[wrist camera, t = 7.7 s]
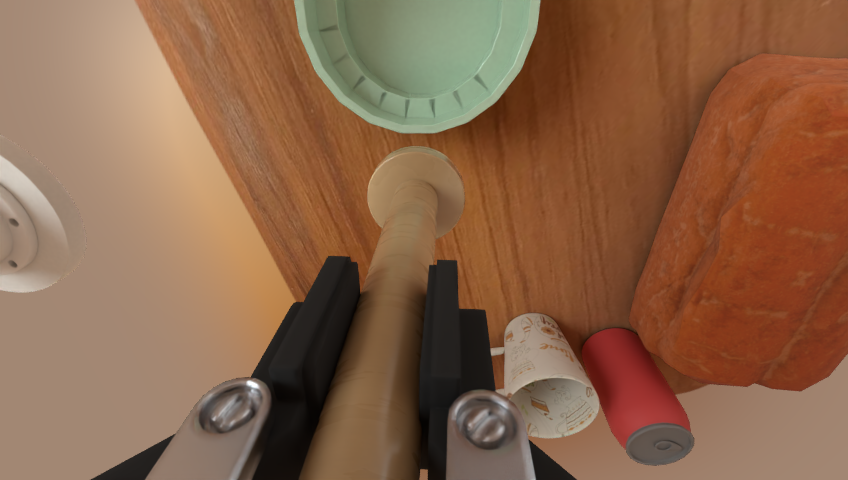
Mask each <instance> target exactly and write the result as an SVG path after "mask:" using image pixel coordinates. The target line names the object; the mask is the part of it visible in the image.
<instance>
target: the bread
mask: <svg viewBox="0 0 848 480" xmlns="http://www.w3.org/2000/svg"><path fill="white" fill-rule="evenodd" d="M629 322H630V325H631V327H633V328H634V329H635V330H636V331H637V333H638V335H639V337H640V339H641V340H642V342H643V344H644V346H645V348H646V350H647V351H649V352H651V353H653V354H655V355H656V356H658V357H660V358H662V359H663V361H664V362H665V363H666V364H668V365H669V366H671V367H673V368H674V369H676V370H677V371H679V372H680V373H682V374H684V375H686V376H688V377H690V378H692V379H694V380H696V381H698V382H700V383H702V384H717V385H730V386H743V387H747V386H750V385H752V384H754V383H756V384H759V385H762V386H765V387H768V388H771V389H781V390H791V391H802V390H804V389H806V388H808V387H810V386H812V385H814V384H815V383H817V382H819V381H821V380H823V379H825V378H827V377H828V376H830V374H831V373H832V372H833V371H834V369H835V368H836V367H837V366H838V365H839V363H840V362H841V361H842V360H843V359H844V357H845V356H846V355H847V354H848V58H815V57H801V56H789V55H778V54H766V53H761V54H759V55H756V56H754V57H752V58H750V59H748V60H746V61H744V62H742V63H740V64H738V65H736V66H734V67H732V68H730V69H729V70H728V72H727V73H726V74H725V75H724V77H723V78H722V79H721V81H720V82H719V83H718V85H717V86H716V87H715V88H714V90H713V91H712V92H711V94H710V96H709V99H708V101H707V104H706V106H705V109H704V112H703V114H702V117H701V119H700V122H699V125H698V127H697V130H696V132H695V135H694V138H693V140H692V143H691V145H690V148H689V151H688V153H687V156H686V158H685V161H684V164H683V166H682V169H681V171H680V174H679V177H678V179H677V182H676V184H675V187H674V189H673V192H672V194H671V197H670V200H669V202H668V205H667V207H666V210H665V212H664V215H663V218H662V220H661V223H660V225H659V228H658V230H657V233H656V236H655V239H654V242H653V245H652V247H651V250H650V253H649V256H648V259H647V261H646V264H645V267H644V270H643V272H642V274H641V277H640V279H639V282H638V284H637V287H636V291H635V295H634V299H633V303H632V307H631V311H630V315H629Z"/></svg>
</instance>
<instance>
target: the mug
mask: <svg viewBox="0 0 848 480" xmlns="http://www.w3.org/2000/svg"><path fill="white" fill-rule="evenodd" d="M490 350H491V356H495V355H500V354H503V353H504V388H503V389H499V390H496V392H497V393H499V394H501V395H504V396H506V397H507V398H508V399H509V400H511V401H512V402H513V403H515V405H516V406H517V407H518V409H519V410H520V411H521V413H522V416H523V418H524V421H525V424H526V430H527V435H530V436H534V437H540V438H558V437H564V436H568V435H571V434H574V433H577V432H578V431H581V430H582V429H584V428H586V427H587V426H588V425H589V424H590V423H591V422H592V421H593V420H594V419H595V417H596V416H597V414H598V411H599V406H600V403H599V397H598V395H597V392H596V390H595V388H594V387H593V385H592V383H591V381H590V380H589V378H588V376H587V374H586V373H585V371H584V369H583V368H582V366H581V364H580V362H579V361H578V359H577V357H576V356H575V354H574V352H573V350H572V349H571V347H570V345H569V344H568V342H567V340H566V338H565V337H564V335H563V333H562V332H561V330H560V328H559V327H558V325H557V324H556V322H555V321H554V320H553V319H552V318H550V317H549V316H547V315H544V314H540V313H528V314H523V315H520V316H518V317H516V318H515V319H513V320H512V321H511V322H510V323H509V324H508V326H507V327H506V330H505V336H504V347H497V348H491V349H490Z"/></svg>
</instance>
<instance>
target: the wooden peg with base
mask: <svg viewBox="0 0 848 480" xmlns="http://www.w3.org/2000/svg"><path fill="white" fill-rule="evenodd" d="M367 199H368V205H369V209H370V212H371V214H372V216H373V218H374V219H375V221H376V222H377V224H378V225H379V226H380V227H381V228H382V232H381V235H380V238H379V241H378V244H377V247H376V250H375V253H374V256H373V259H372V262H371V265H370V268H369V271H368V274H367V277H366V280H365V283H364V286H363V289H362V292H361V295H360V297H359V300H358V303H357V306H356V309H355V312H354V315H353V318H352V321H351V324H350V327H349V330H348V333H347V336H346V339H345V342H344V345H343V348H342V351H341V354H340V357H339V360H338V363H337V366H336V369H335V372H334V375H333V378H332V381H331V384H330V387H329V390H328V393H327V396H326V399H325V402H324V405H323V408H322V411H321V414H320V417H319V420H318V423H317V426H316V429H315V432H314V435H313V438H312V441H311V444H310V447H309V449H308V452H307V455H306V458H305V461H304V464H303V467H302V470H301V473H300V476H299V479H298V480H419V477H420V463H421V448H422V433H423V431H422V425H421V422H420V420H419V378H420V362H421V350H422V339H423V328H424V317H425V305H426V294H427V283H428V272H429V265H434V253H435V239H438V238H440V237H442V236H443V235H445V234H446V233H448V232H449V231H450V230H451V229H452V228H453V227H454V226H455V225H456V224H457V222H458V221H459V219H460V217H461V215H462V213H463V209H464V204H465V192H464V184H463V180H462V176H461V174H460V172H459V170H458V169H457V167H456V165H455V164H454V163H453V162H452V161H451V160H450V159H449V158H448V157H447V156H445V155H444V154H442V153H441V152H439V151H437V150H434V149H431V148H428V147H423V146H410V147H404V148H401V149H398V150H396V151H394V152H392V153H390V154H389V155H387V156H386V157H385V158H384V159H383V160H382V161H381V162H380V163H379V165H378V166H377V168H376V169H375V171H374V173H373V175H372V177H371V179H370V182H369V186H368V192H367Z"/></svg>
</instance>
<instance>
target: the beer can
mask: <svg viewBox="0 0 848 480" xmlns="http://www.w3.org/2000/svg"><path fill="white" fill-rule="evenodd" d="M581 354H582V360H583V362H584V365H585V367H586V370H587V372H588V375H589V377H590V379H591V382H592V384H593V387H594V388H595V390H596V392H597V395H598V397H599V402H600V404H601V406H602V409H603V412H604V414H605V416H606V419H607V421H608V424H609V426H610V428H611V431H612V433H613V434H614V436H615V437H616V439H617V440H618V442H619V443H620V444H621V446H623V448H624V449H625V450H626V452H627V454H628V456H629V457H630V458H631V459H633V460H634V461H636V462H638V463H641V464H645V465H654V466H657V465H665V464H669V463H672V462H676V461H677V460H680V459H682V458H683V457H685V456H686V455H687V454H688V453H689V452H690V451H691V449H692V448H693V446H694V437H693V435H692V434H691V430H690V423H689V420H688V417H687V414H686V413H685V411H684V409H683V407H682V405H681V404H680V402H679V401H678V399H677V398H676V396H675V394H674V393H673V391H672V389H671V388H670V386H669V384H668V383H667V381H666V380H665V378H664V376H663V375H662V373H661V372H660V370H659V368H658V367H657V365H656V363H655V362H654V360H653V359H652V357H651V355H650V354H649V352H648V351H647V350H646V348H645V346H644V344H643V342H642V341H641V339H640V338H639V336H637V335H636V334H635V333H633V332H632V331H629V330H626V329H623V328H610V329H604V330H602V331H599V332H597V333H595V334H594V335H592V336H591V337H590V338H588V340H587V341H586V342H585V344H584V345H583V349H582V352H581Z"/></svg>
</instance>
